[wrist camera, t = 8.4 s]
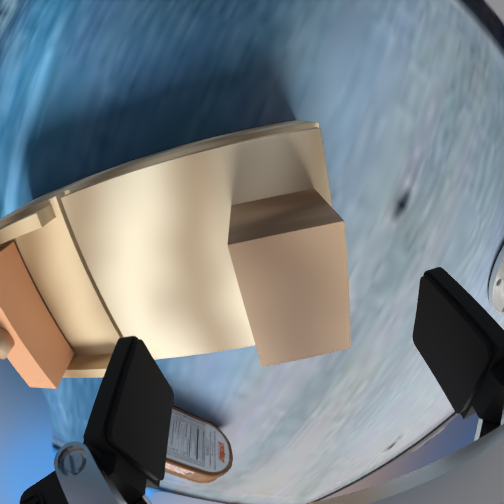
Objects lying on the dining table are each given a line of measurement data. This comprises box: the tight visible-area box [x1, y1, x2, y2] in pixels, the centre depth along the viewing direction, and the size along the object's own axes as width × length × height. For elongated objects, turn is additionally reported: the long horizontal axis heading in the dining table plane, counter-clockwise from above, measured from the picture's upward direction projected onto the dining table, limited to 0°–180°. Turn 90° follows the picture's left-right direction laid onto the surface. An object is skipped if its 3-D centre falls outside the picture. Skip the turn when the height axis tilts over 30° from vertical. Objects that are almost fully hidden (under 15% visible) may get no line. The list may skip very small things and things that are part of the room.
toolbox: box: [0, 120, 319, 378], centre depth 18 cm, size 22×12×8 cm, turn 102°
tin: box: [165, 406, 233, 483], centre depth 28 cm, size 15×3×8 cm, turn 50°
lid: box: [61, 127, 350, 367], centre depth 14 cm, size 14×12×6 cm
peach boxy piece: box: [0, 242, 75, 389], centre depth 14 cm, size 3×9×5 cm, turn 12°
